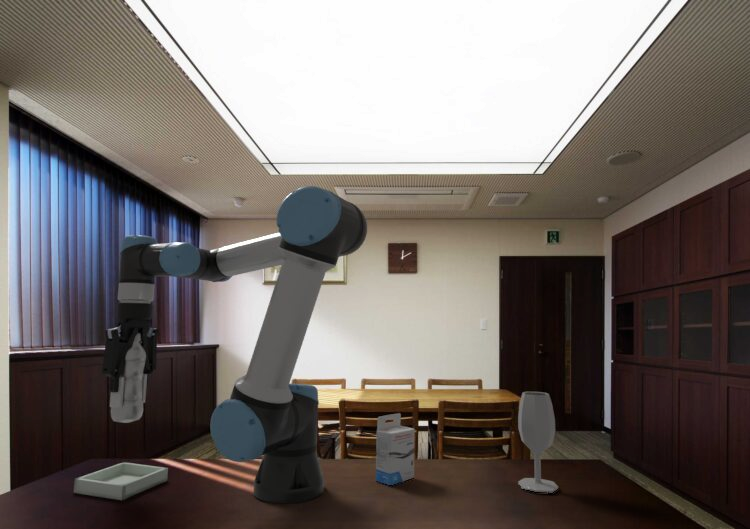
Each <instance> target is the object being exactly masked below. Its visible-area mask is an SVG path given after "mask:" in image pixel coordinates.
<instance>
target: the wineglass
mask: <svg viewBox="0 0 750 529" xmlns="http://www.w3.org/2000/svg"><path fill="white" fill-rule="evenodd" d="M517 423H518V424H517V426H518V427H517V428H518V431H519V435H520V439H521V441H522V443H523V444H524V445H525V446H526V447H527V448H528V449H529V450H530V451H531V452H532V453H533V455H534V456H533V457H534V458H533V459H534V464H533V465H534V466H533V467H534V477H524V478H522V479H519V480H518V481H517V482H518V483H517V484H518V486H519V485H520V486H521V487H520V486H519V487H520V489H521V490H522V489H525V490H524V491H526V490H530V491H534V492H547V493H546V494H548V492H549V493H553V492H554V491H556V490H557V489H558V488H559V486H558V485H557V484H556V482H555V481H553V480H548V479H543V478H542V466H541V465H542V463H541V455H542V454H543V453H544V452H545V451H546V450H547V449H549V448H550V447H551V446H552V445H553V444H554V440H555V439H554V438H555V435H556V417H555V413H554V407H553V403H552V399H551V396H550V394H549V393H547V392H542V391H523V392H522V393H521V396H520V400H519V408H518V414H517ZM558 490H559V489H558ZM558 490H557V491H558ZM530 491H529V492H530ZM557 491H556V492H557ZM534 492H533V493H534ZM554 493H555V492H554ZM554 493H553V494H554Z"/></svg>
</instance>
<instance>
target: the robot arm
mask: <svg viewBox="0 0 750 529" xmlns="http://www.w3.org/2000/svg"><path fill="white" fill-rule="evenodd" d="M276 226H277V228H278V232H276V233H275V232H274V233H272V234H267V235H264V236H260V237H257V238H252V239H248V240H245V241H239V242H237V243H233V244H229V245H224V246H222V247H218V248H213V249H206V248H205V249H204V248H199V247H196V246H195V245H193V244H192V243H189V242H180V241H174V242H167V243H165V242H164V243H158V240H157V238H156V237H153V236H149V235H141V234H140V235H139V234H137V235H135V234H131V235H126V236H125V237H124V238H123V239H122V245H121V251H119V252H120V259H119V262H120V263H119V278H118V279H119V280H118V290H117V300H118V301H120V302H118V303H117V304H116V312H115V317H116V319H117V320H118V322H117V324H116V327H114V328H107V329H105V330H104V336H105V347H104V353H103V361H102V362H103V363H102V368H101V374H102V375H105V376H106V377H108V378H109V384H108V385H109V387H108V391H109V393H110V398H109V407H110V408H111V407H115V408H121V407H122V402H123V388H124V377H121V375H122V372H123V368H124V365H125V362H126V361H125V359H126V354H127V352H128V350H129V348H131V347H132V345H133V342H134V339H135V336H136V335H137V333H141V341H140V344H141V346H142V347H143V348H144V350H145V352H146V360H145V366H144V371H143V378H142V401H143V404H145V403H146V396H147V387H148V386H149V375H150V374H153V373H154V371H155V370H157V358H158V357H157V354H158V353H157V349H158V348H157V346H158V336H159V332H160V330H159V328H153V327H151V324H150V320H151V319H152V318H153V312H154V305H153V303H152V302H153V301H155V283H156V282H155V280H156V277H174V278H180V279H181V278H183V279H191V280H193V279H194V280H201V281H206V282H212V283H220V282H222V283H223V282H227V281H229V280H230V279H231V278H232V277H233V276H238V275H242V274H248V273H252V272H256V271H260V270H264V269H269V268H273V267H277V266H280V268H279V271H278V274H277V278H276V280H275V285H274V287H273V290H272V293H271V297H270V300H269V302H268V306H267V309H266V311H265V315H264V319H263V321H262V324H261V327H260V331H259V333H258V337H257V340H256V342H255V346H254V348H253V352H252V356H251V359H250V362H249V365H248V368H247V371H246V374H245V375H243V376H241V377H239V378H237V379H236V381H235V382H234V386H233V388H232V391H231V394H230V397H229V398H227V399H225V400H223V401H222V402H221V403H219V404H218V405H217V406H216V407H215V409H213V412H212V414H211V418H210V424H209V426H210V427H209V428H210V434H211V435H210V436H211V438H212V440H213V441H214V446H215V447H216V449H217V451H218V452H219V453H220V454H221V455H222V456H223V457H225V458H226V459H227V460H229V461H232V462H237V463H243V462H247V461H252V460H256V459H259V458H260V457H262V458H261V461H260V463H259V467H258V469H257V472H256V476H255V478H254V481H253V495H254V497H256V498H257V499H258V500H261V501H263V502H268V503H275V504H293V503H295V504H296V503H301V502H306V501H309V500H312V499H315V498H318V497H319V496H320V495H322V494H323V492H324V490H325V488H324V486H325V485H324V484H325V479H324V474H323V471H322V468H321V465H320V461H319V457H318V452H317V450H318V448H317V447H318V446H317V445H318V419H319V405H320V400H319V392H318V388H317V386H314V385H311V384H302V383H300V384H299V383H290V382H291V379H292V376H293V373H294V372H295V371H294V370H295V368H296V364H297V362H298V358H299V355H300V352H301V349H302V346H303V344H304V343H303V342H304V341H305V336H306V335H307V330H308V327H309V324H310V321H311V318H312V315H313V312H314V309H315V306H316V303H317V300H318V297H319V294H320V291H321V287H322V285H323V281H324V278H325V275H326V273H327V272H328V271H330V270H332V269H334V268H336V267H337V264H338V260H339V258H340V257H344V256H345V257H346V256H349V255H352V254H353V253H355V252H356V251H357V250H359V248H361V247H362V245H363V244H364V242H365V240H366V237H367V234H368V222H367V218H366V217H365V215H364V213H363V212H362V210H361V209H360V208H359V207H358V206H357V205H356V204H354V203H353V202H351V201H348V200H346V199H344V198H343V197H340V196H339V195H337V194H335V193H334V192H333V191H330V190H327V189H325V188H322V187H319V186H314V185H307V186H306V185H305V186H302V187H299V188H297V189H295V190H294V191H291V192H290V193H289V194H288V195H287V196H286V197H285V198H284V199H283V201H282V202H281V204H280V205H279V208H278V210H277V214H276ZM116 370H117V371H116Z"/></svg>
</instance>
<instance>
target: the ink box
mask: <svg viewBox="0 0 750 529" xmlns="http://www.w3.org/2000/svg"><path fill="white" fill-rule="evenodd" d="M401 416H402V414H401V413H400V412H398V413H393V414H386V415H382V416H378V417H377V421H376V422H377V424H376V427H377V428H376V437H375V438H376V440H375V441H376V444H375V446H376V448H375V449H376V452H375V453H376V454H375V482H376V481H379V482H381V483H380V484H382V483H385V484H387V485H386V486H388V485H392V484H396V483H399V482H402V481H405V480H408V479H411V478H413V477H414V478H415V433H416V432H415V431H416V430H415V428H413V427H409V426H405V425H401V421H402V420H401V419H402V418H401ZM388 420H392V421H389V422H386V421H388ZM379 482H378V483H379ZM402 483H403V482H402ZM385 484H384V485H385ZM399 484H400V483H399ZM396 485H397V484H396Z"/></svg>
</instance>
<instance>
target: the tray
mask: <svg viewBox="0 0 750 529" xmlns="http://www.w3.org/2000/svg"><path fill="white" fill-rule="evenodd" d="M168 472H169V467H163V466H155V465H148V464H140V463H132V462H125V461H123V462H121V463H117V464H114V465H112V466H109V467H105V468H103V469H100V470H97V471H94V472H91V473H87V474H85V475H83V476H79V477H76V478H74V481H73V482H74V483H73V484H74V485H73V494H79V495H87V496H92V497H98V498H105V499H111V500H116V501H123V500H126V499H128V498H131V497H134V496H135V495H138V494H139V493H142V492H145V491H146V490H149V489H151V488H154V487H157V486H158V485H161V484H163V483H166V482H167V481H168Z"/></svg>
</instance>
